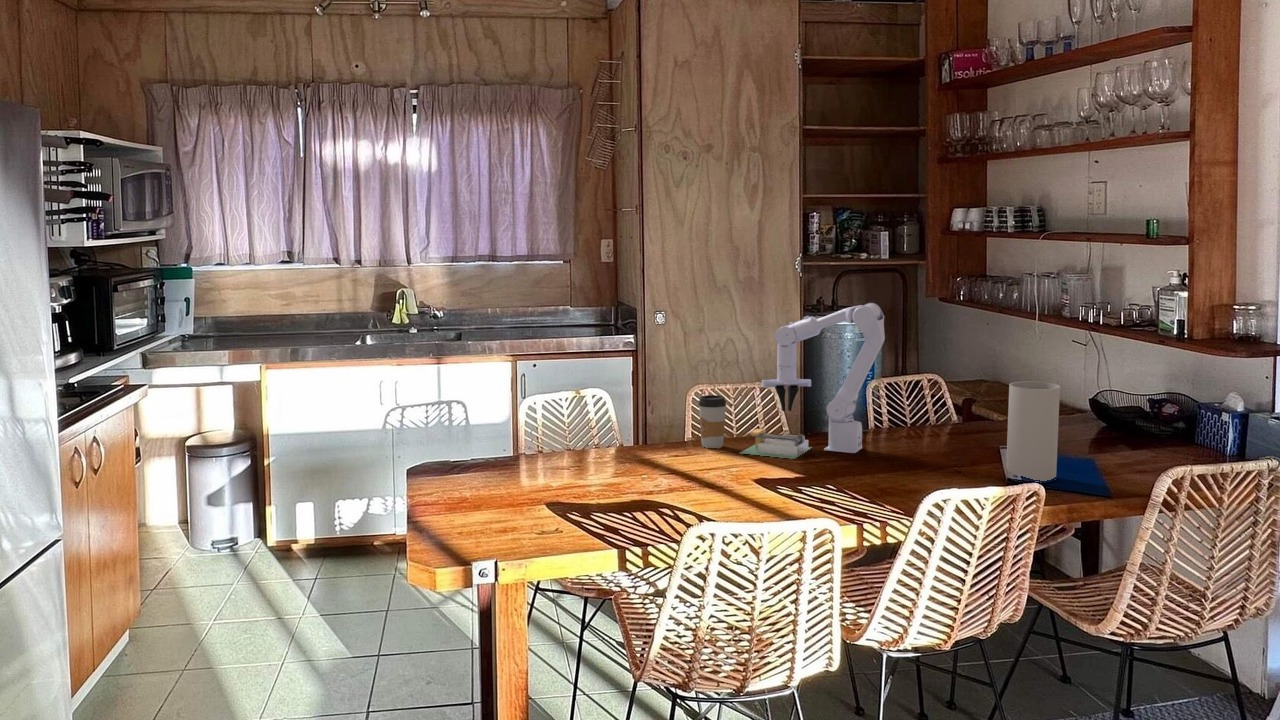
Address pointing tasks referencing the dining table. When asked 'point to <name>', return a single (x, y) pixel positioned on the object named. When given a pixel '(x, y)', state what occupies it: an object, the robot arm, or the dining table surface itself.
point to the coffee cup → (712, 420)
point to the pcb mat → (754, 451)
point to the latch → (758, 432)
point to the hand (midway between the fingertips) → (786, 410)
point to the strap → (776, 437)
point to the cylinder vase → (1033, 429)
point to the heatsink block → (784, 446)
